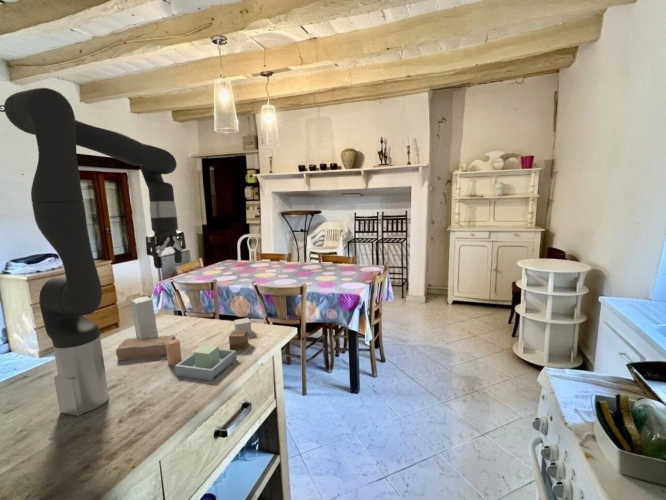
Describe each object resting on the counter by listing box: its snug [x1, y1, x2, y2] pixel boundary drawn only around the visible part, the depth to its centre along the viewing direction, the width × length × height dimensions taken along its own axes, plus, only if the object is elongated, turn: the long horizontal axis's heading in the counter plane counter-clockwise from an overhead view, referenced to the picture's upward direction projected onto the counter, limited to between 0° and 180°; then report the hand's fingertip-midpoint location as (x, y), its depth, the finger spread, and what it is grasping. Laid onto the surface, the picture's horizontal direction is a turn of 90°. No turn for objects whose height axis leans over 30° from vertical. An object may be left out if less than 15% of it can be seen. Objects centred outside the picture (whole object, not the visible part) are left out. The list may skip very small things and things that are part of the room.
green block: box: [193, 344, 220, 369], centre depth 100 cm, size 5×5×5 cm
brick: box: [115, 334, 176, 361], centre depth 111 cm, size 17×8×5 cm, turn 103°
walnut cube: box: [228, 329, 249, 351], centre depth 114 cm, size 5×5×5 cm
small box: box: [233, 317, 252, 335], centre depth 126 cm, size 6×6×5 cm
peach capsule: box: [166, 338, 183, 367], centre depth 103 cm, size 4×4×7 cm
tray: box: [174, 348, 237, 381], centre depth 100 cm, size 13×13×3 cm
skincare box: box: [130, 295, 159, 338], centre depth 124 cm, size 8×6×15 cm
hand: (169, 265), depth 107 cm, fingers open, 8 cm apart
